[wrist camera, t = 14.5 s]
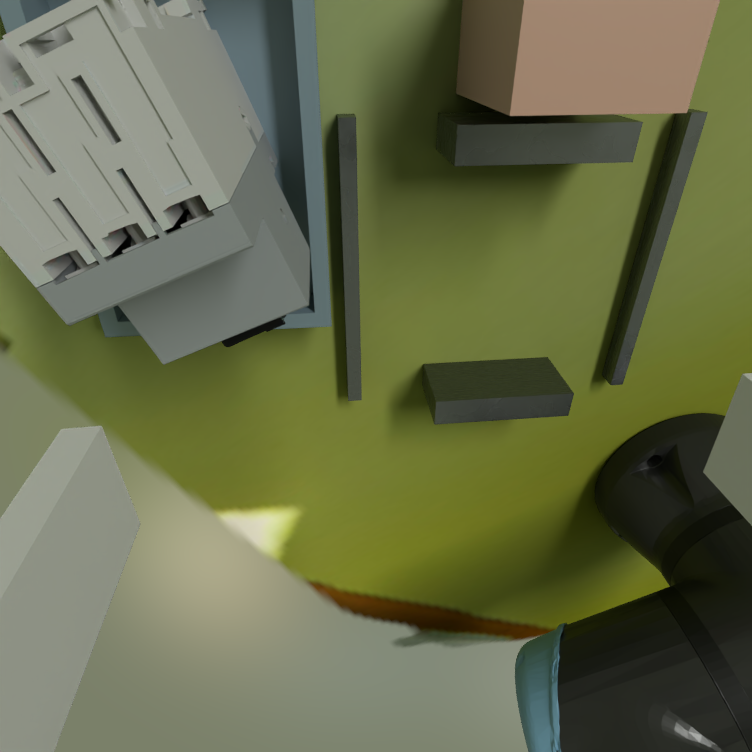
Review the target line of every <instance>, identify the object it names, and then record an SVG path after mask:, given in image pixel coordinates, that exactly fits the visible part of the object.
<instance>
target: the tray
mask: <svg viewBox="0 0 752 752" xmlns="http://www.w3.org/2000/svg"><path fill="white" fill-rule="evenodd" d="M69 1H71V0H0V15H1V18H2V21H3V25H4V28H5V31H6V34H7V33H9V32H11V31H13V30H15V29H17V28H19V27H21V26H23V25H25V24H27V23H28V22H30V21H32V20H34V19H36V18H38V17H40V16H42V15H44V14H46V13H48V12H50V11H52V10H54V9H56V8H58V7H59V6H61V5H63V4H65V3H67V2H69ZM169 1H171V0H154V2H155V4H156V6H157V7H159V6H161V5H163V4H165V3H167V2H169ZM198 1H199V0H198ZM202 1H203V3H204V5H205V7H206V9H207V10H206V11H204V12H203V13H204V15H205V17H206V19H207V21H208V23H209V26H210V28H211V30H217V32H218V34H219V37H220V39H221V41H222V43H223V45H224V47H225V49H226V51H227V54H228V56H229V58H230V60H231V62H232V64H233V66H234V68H235V71H236V73H237V75H238V77H239V79H240V81H241V83H242V85H243V87H244V90H245V92H246V94H247V96H248V98H249V100H250V102H251V104H252V107H253V109H254V111H255V113H256V115H257V117H258V119H259V121H260V124H261V126H262V128H263V130H264V132H265V134H266V136H267V138H268V140H269V143H270V145H271V147H272V149H273V151H274V153H275V155H276V157H277V160H278V161H277V165H276V167H275V168H274V169H275V174H274V176H275V178H276V180H277V182H278V184H279V186H280V188H281V190H282V192H283V194H284V196H285V199H286V201H287V203H288V205H289V207H290V209H291V211H292V213H293V215H294V217H295V219H296V221H297V224H298V226H299V228H300V230H301V232H302V234H303V236H304V238H305V240H306V242H307V244H308V246H309V249H310V287H309V306H306V307H304V308H301V309H299V310H297V311H294V312H292V313H289V314H287V315H286V317H285V318H283V319H284V321H285V325H282V326H280V327H277V328H275V329H287V328H308V327H329V326H332V325H331V306H330V287H329V269H328V250H327V231H326V213H325V194H324V175H323V157H322V138H321V119H320V101H319V82H318V63H317V45H316V26H315V7H314V0H202ZM98 316H99V319H100V322H101V325H102V328H103V331H104V334H105V337H121V336H141V334H140V333H139V332H138V331H137V329H136V328H135V327H134V325H133V324H132V323H131V321H130V320H129V319H128V318H127V316H126V315H125V314H124V312H123V311H122V310H121V308H120V307H119V306H118V305H117V306H114V307H112V308H110V309H107V310H105V311H103V312H100V313H98Z"/></svg>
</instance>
